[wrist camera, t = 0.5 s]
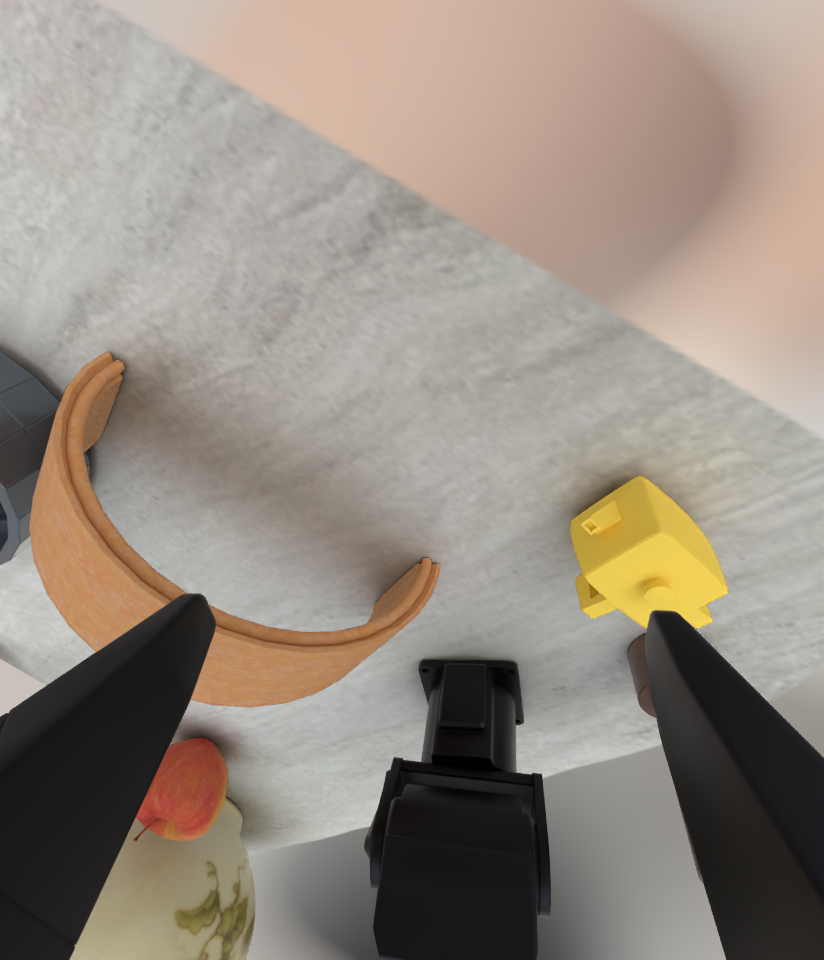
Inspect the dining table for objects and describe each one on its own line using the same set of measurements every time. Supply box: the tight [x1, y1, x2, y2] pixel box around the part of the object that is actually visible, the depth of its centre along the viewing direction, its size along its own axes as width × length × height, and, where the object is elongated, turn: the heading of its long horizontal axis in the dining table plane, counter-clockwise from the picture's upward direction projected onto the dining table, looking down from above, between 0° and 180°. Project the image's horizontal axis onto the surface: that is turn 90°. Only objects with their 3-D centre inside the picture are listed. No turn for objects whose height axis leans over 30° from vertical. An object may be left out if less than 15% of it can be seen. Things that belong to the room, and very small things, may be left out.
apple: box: [133, 738, 228, 842], centre depth 41 cm, size 7×7×8 cm
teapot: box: [570, 476, 728, 629], centre depth 22 cm, size 8×6×5 cm
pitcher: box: [70, 798, 255, 960], centre depth 44 cm, size 22×24×25 cm
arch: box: [29, 352, 440, 707], centre depth 23 cm, size 6×20×10 cm, turn 54°
